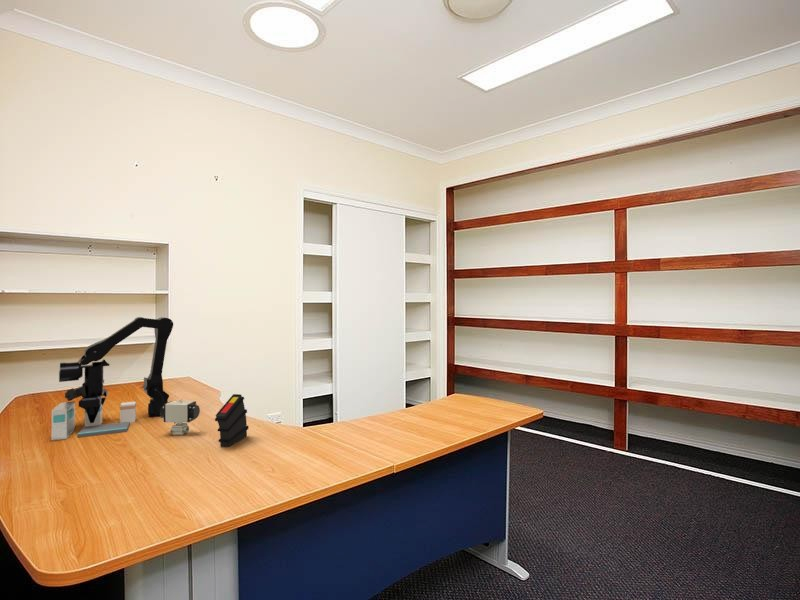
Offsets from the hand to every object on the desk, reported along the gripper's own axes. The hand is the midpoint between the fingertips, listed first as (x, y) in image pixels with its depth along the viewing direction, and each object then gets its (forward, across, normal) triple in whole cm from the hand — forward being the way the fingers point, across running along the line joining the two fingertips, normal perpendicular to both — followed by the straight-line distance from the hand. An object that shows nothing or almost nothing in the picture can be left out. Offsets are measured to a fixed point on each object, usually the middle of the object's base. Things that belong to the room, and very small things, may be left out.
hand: (93, 420), depth 158 cm
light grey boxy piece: (+2, +1, +11) cm, 11 cm away
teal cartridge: (+2, 0, 0) cm, 2 cm away
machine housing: (+2, +10, -7) cm, 12 cm away
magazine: (+2, +45, +44) cm, 63 cm away
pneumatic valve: (+2, +27, +29) cm, 40 cm away
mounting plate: (+2, +11, +5) cm, 12 cm away
